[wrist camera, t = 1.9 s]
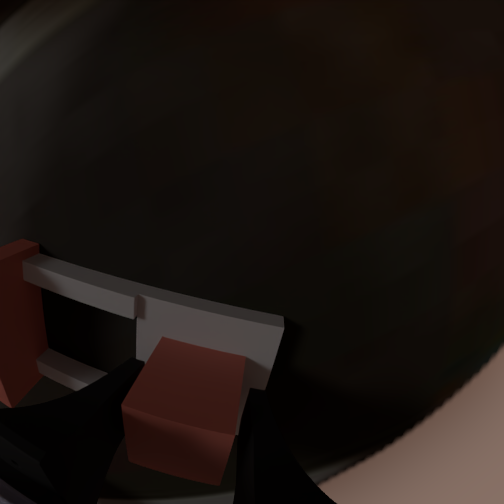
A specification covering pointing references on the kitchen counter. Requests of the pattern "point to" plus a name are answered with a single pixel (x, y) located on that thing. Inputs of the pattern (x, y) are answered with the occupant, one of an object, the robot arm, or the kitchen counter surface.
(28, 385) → the white rails red ends
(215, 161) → the kitchen counter surface
